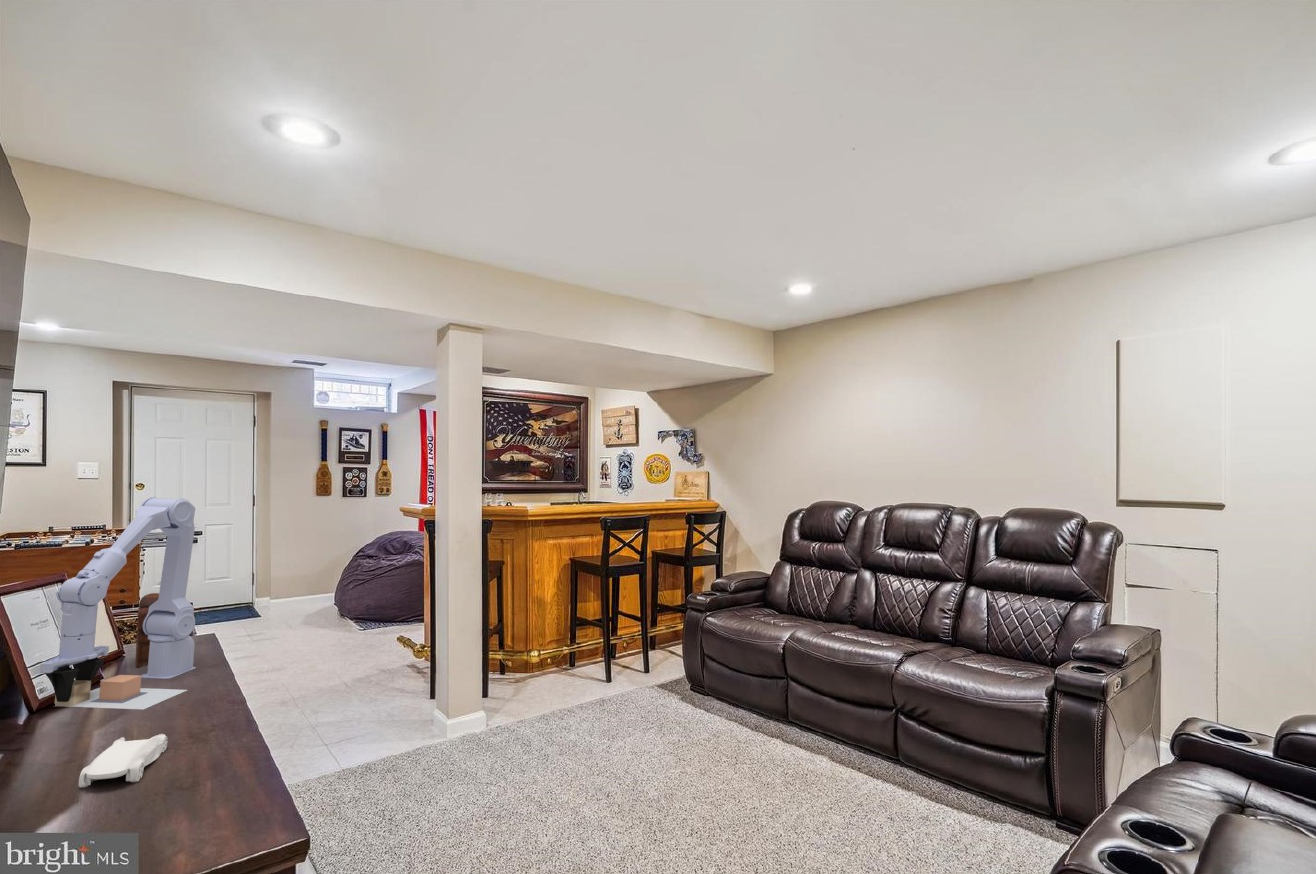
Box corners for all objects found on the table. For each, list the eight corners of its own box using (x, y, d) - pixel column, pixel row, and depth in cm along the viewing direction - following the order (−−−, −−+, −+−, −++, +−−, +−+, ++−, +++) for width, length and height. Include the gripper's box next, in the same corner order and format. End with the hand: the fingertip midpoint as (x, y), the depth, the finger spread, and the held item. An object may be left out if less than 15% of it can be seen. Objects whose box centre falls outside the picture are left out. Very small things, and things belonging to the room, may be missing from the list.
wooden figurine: (163, 666, 172) (169, 596, 173) (132, 669, 168) (138, 597, 169) (164, 655, 181) (169, 589, 182) (134, 658, 177) (140, 590, 179)
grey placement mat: (102, 688, 153) (102, 686, 153) (187, 692, 153) (187, 689, 153) (49, 708, 140) (50, 705, 140) (143, 711, 140) (143, 708, 140)
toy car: (117, 752, 121) (120, 727, 121) (169, 747, 123) (171, 722, 124) (70, 798, 104) (73, 768, 104) (131, 791, 107) (134, 762, 107)
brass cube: (71, 698, 145) (73, 680, 145) (89, 699, 144) (91, 680, 145) (54, 705, 141) (56, 685, 141) (73, 705, 140) (74, 686, 141)
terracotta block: (118, 692, 149) (119, 674, 149) (140, 693, 149) (141, 675, 149) (99, 700, 144) (100, 681, 144) (121, 701, 144) (123, 682, 144)
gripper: (66, 642, 136) (60, 710, 135) (123, 627, 151) (118, 688, 150) (32, 641, 136) (26, 708, 135) (93, 625, 151) (87, 686, 150)
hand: (72, 697), depth 143 cm, fingers closed on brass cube, 4 cm apart
